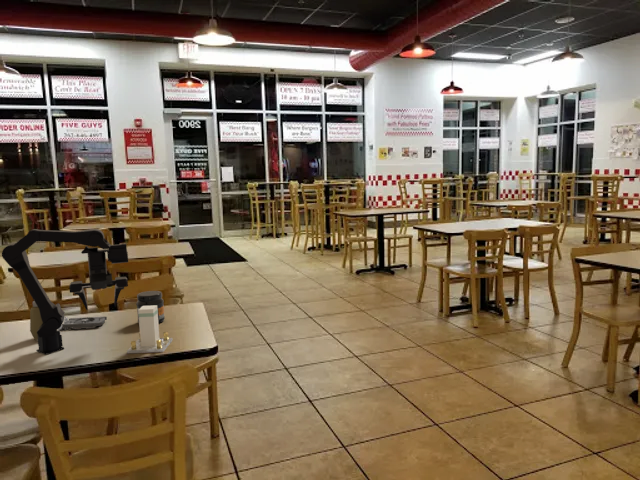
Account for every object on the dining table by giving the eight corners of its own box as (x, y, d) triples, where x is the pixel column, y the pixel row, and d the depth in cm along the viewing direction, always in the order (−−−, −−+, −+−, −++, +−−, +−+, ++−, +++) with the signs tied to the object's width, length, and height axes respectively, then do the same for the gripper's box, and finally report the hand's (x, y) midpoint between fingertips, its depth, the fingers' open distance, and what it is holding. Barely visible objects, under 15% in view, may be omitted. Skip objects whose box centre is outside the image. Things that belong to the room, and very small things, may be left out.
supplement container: (169, 318, 209) (167, 290, 208) (157, 326, 199) (155, 296, 197) (145, 318, 211) (143, 290, 209) (133, 325, 201) (130, 296, 199)
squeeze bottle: (28, 343, 182) (23, 294, 180) (34, 336, 190) (29, 290, 188) (52, 340, 185) (47, 292, 182) (57, 333, 192) (53, 288, 190)
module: (140, 346, 172) (138, 309, 171) (145, 341, 177) (142, 305, 176) (155, 345, 172) (153, 309, 171) (159, 340, 177) (157, 305, 176)
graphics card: (53, 325, 193) (65, 316, 205) (54, 334, 194) (65, 325, 206) (98, 323, 195) (107, 314, 207) (99, 332, 196) (108, 322, 208)
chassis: (127, 353, 169) (126, 343, 168) (138, 341, 181) (138, 332, 180) (163, 352, 169) (162, 342, 168) (172, 340, 181) (171, 331, 180)
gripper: (66, 271, 165) (70, 317, 167) (126, 265, 172) (130, 309, 174) (68, 266, 175) (72, 309, 177) (125, 261, 182) (128, 302, 184)
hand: (101, 308), depth 178 cm, fingers open, 9 cm apart
